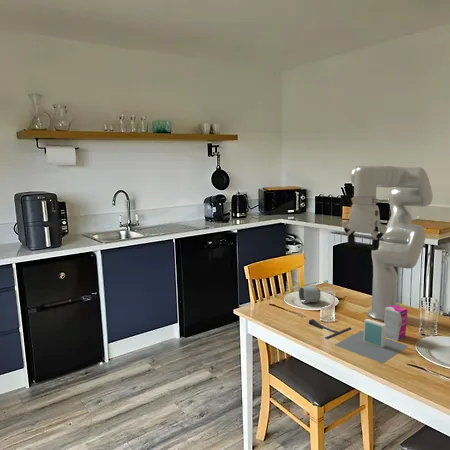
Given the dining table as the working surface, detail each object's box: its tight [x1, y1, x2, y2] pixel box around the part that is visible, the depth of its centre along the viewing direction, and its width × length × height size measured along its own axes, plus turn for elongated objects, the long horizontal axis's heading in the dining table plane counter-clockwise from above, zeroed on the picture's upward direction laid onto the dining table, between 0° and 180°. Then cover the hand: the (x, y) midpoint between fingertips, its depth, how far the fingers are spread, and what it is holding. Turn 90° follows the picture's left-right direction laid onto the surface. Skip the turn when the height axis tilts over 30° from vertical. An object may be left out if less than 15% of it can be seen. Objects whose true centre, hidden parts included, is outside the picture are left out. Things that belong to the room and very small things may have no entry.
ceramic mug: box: [298, 286, 321, 304], centre depth 188 cm, size 11×8×8 cm
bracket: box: [308, 318, 352, 340], centre depth 156 cm, size 14×15×3 cm
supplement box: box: [383, 305, 408, 342], centre depth 147 cm, size 6×6×12 cm
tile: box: [363, 318, 386, 348], centre depth 141 cm, size 2×7×8 cm, turn 41°
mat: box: [334, 329, 409, 364], centre depth 141 cm, size 18×18×1 cm
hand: (362, 247), depth 147 cm, fingers open, 9 cm apart
